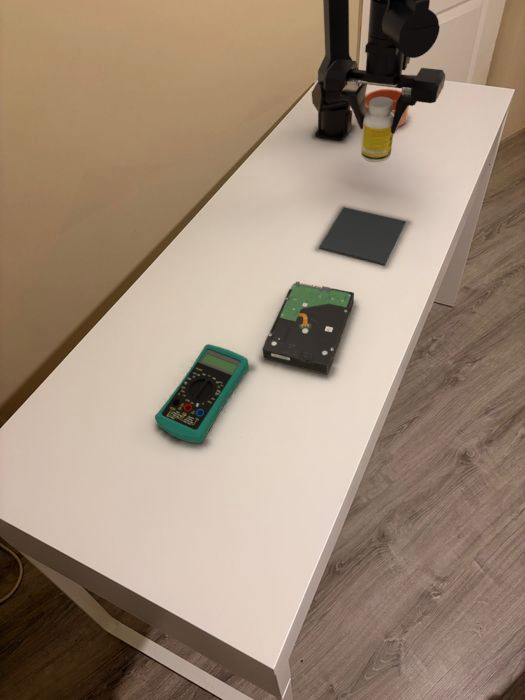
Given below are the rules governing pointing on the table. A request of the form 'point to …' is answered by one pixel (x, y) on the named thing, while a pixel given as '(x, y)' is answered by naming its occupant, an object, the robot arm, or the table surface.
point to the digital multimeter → (202, 394)
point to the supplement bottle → (377, 130)
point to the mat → (363, 235)
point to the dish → (389, 94)
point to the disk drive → (309, 327)
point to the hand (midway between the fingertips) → (378, 130)
